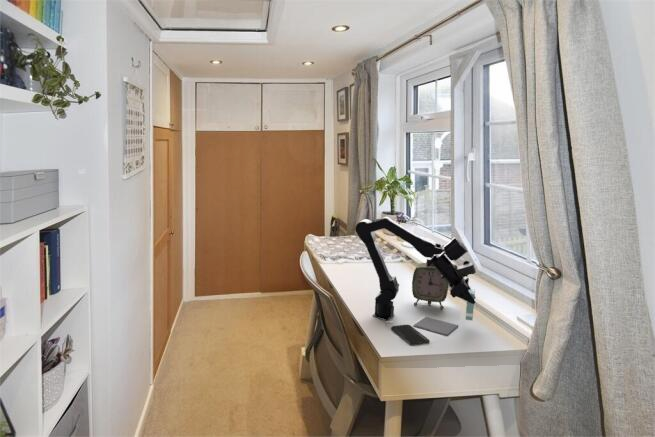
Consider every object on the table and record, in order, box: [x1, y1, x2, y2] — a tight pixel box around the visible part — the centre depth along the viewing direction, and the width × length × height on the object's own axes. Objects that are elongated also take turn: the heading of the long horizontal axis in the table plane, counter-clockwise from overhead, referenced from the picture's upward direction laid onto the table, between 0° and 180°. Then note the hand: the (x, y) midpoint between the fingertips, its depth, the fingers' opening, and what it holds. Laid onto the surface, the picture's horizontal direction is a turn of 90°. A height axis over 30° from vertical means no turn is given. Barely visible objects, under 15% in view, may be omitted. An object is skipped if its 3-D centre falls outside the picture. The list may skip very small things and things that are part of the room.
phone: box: [390, 324, 430, 346], centre depth 161 cm, size 8×1×15 cm
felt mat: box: [413, 316, 459, 337], centre depth 170 cm, size 13×11×1 cm
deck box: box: [465, 289, 476, 321], centre depth 167 cm, size 2×5×10 cm, turn 163°
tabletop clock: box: [411, 255, 450, 311], centre depth 189 cm, size 14×9×25 cm, turn 73°
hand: (474, 301), depth 167 cm, fingers closed on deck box, 5 cm apart
